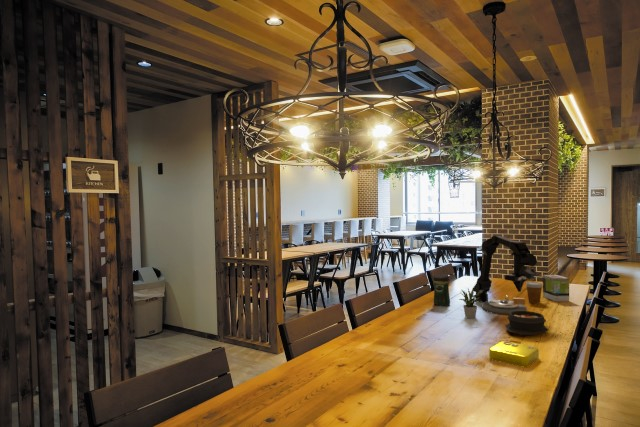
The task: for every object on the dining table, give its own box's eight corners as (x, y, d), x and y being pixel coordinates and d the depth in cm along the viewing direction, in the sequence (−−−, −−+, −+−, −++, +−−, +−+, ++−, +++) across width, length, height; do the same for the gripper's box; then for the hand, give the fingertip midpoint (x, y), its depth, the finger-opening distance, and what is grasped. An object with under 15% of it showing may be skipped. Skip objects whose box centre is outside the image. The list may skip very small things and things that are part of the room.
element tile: (487, 359, 175) (487, 347, 175) (502, 350, 186) (502, 339, 186) (527, 368, 165) (526, 356, 165) (540, 358, 175) (540, 346, 175)
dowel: (505, 303, 264) (504, 295, 264) (505, 302, 266) (505, 295, 266) (508, 303, 263) (508, 296, 263) (509, 302, 265) (509, 295, 264)
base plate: (476, 311, 254) (476, 307, 254) (489, 303, 273) (489, 300, 273) (520, 316, 239) (520, 313, 239) (531, 308, 258) (531, 304, 258)
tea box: (570, 301, 275) (569, 277, 275) (553, 301, 275) (553, 278, 275) (557, 296, 290) (557, 274, 290) (542, 296, 290) (541, 274, 290)
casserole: (541, 341, 196) (541, 322, 196) (498, 334, 208) (498, 316, 208) (553, 328, 215) (553, 311, 215) (513, 323, 227) (513, 306, 227)
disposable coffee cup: (539, 300, 278) (538, 281, 278) (545, 304, 268) (545, 284, 268) (523, 300, 279) (523, 281, 279) (529, 304, 269) (528, 284, 269)
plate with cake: (490, 307, 251) (490, 299, 251) (488, 302, 266) (488, 294, 266) (526, 309, 245) (526, 301, 245) (522, 303, 260) (522, 295, 260)
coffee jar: (451, 304, 272) (451, 274, 272) (447, 306, 266) (446, 276, 266) (436, 302, 278) (436, 273, 278) (431, 305, 272) (431, 275, 271)
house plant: (487, 321, 230) (487, 290, 230) (460, 320, 233) (459, 290, 233) (483, 315, 244) (482, 285, 244) (457, 314, 247) (456, 285, 247)
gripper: (522, 267, 235) (522, 296, 236) (542, 264, 245) (542, 291, 246) (503, 264, 245) (504, 292, 245) (523, 262, 255) (524, 288, 255)
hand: (519, 291), depth 247 cm, fingers closed
